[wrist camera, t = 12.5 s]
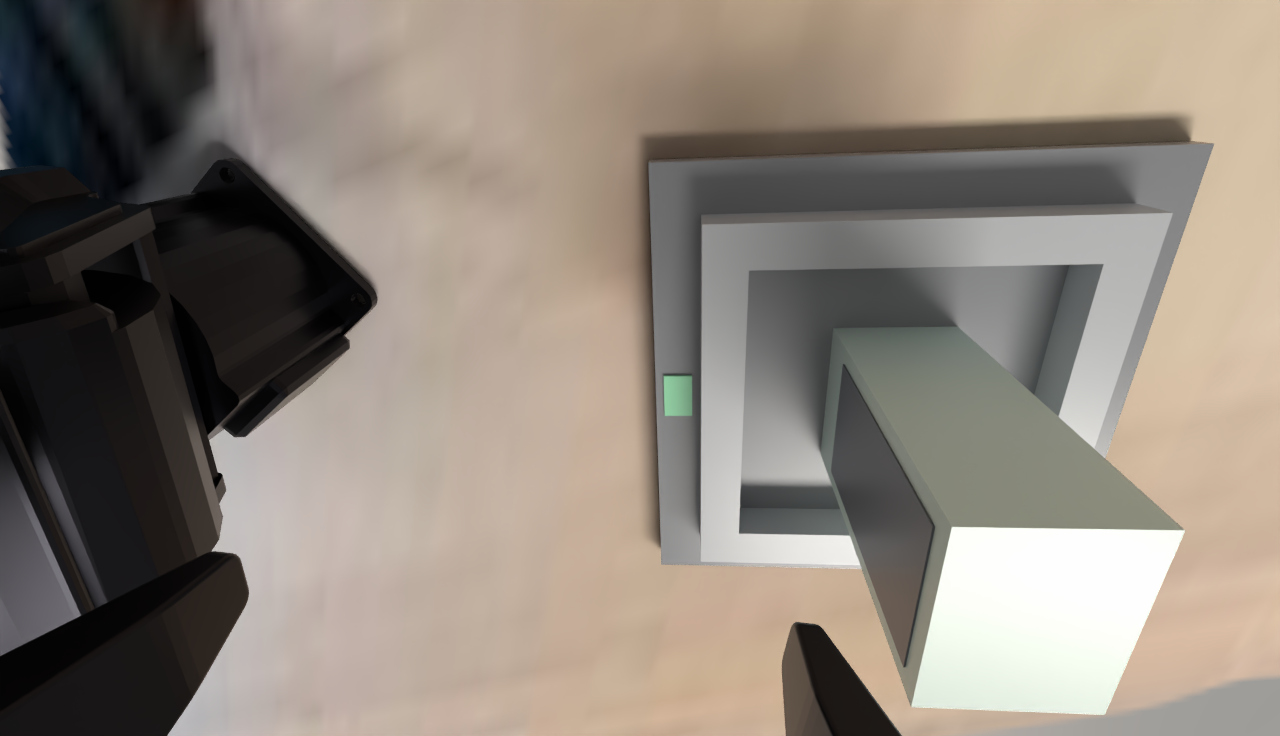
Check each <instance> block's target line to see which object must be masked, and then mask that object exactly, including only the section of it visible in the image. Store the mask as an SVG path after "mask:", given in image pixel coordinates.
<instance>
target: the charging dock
mask: <svg viewBox="0 0 1280 736" xmlns="http://www.w3.org/2000/svg"><path fill="white" fill-rule="evenodd" d="M1213 145H1214V144H1213V143H1204V142H1195V141H1186V142H1156V143H1127V144H1098V145H1069V146H1039V147H1010V148H981V149H951V150H922V151H893V152H863V153H834V154H805V155H775V156H746V157H717V158H688V159H658V160H650V161H649V163H648V164H649V194H650V225H651V256H652V287H653V318H654V349H655V379H656V410H657V441H658V472H659V503H660V534H661V564H665V565H709V566H753V567H797V568H841V569H862V568H861V566H860V563H859V560H858V557H857V554H856V552H855V549H854V546H853V543H852V540H851V538H850V535H849V532H848V529H847V526H846V524H845V521H844V518H843V515H842V512H841V510H840V507H839V504H838V501H837V498H836V496H835V493H834V490H833V487H832V485H831V482H830V479H829V476H828V473H827V471H826V468H825V465H824V462H823V459H822V457H821V445H822V435H823V425H824V415H825V405H826V395H827V386H828V376H829V366H830V356H831V346H832V336H833V328H878V327H959V328H960V329H961V330H962V331H963V332H964V333H965V334H967V335H968V336H969V337H970V338H971V339H972V340H973V341H974V342H976V343H977V344H978V345H979V346H980V347H981V348H982V349H983V350H984V351H986V352H987V353H988V354H989V355H990V356H991V357H992V358H993V359H995V360H996V361H997V362H998V363H999V364H1000V365H1001V366H1002V367H1003V368H1005V369H1006V370H1007V371H1008V372H1009V373H1010V374H1011V375H1012V376H1013V377H1015V378H1016V379H1017V380H1018V381H1019V382H1020V383H1021V384H1022V385H1024V386H1025V387H1026V388H1027V389H1028V390H1029V391H1030V392H1031V393H1032V394H1034V395H1035V396H1036V397H1037V398H1038V399H1039V400H1040V401H1041V402H1042V403H1044V404H1045V405H1046V406H1047V407H1048V408H1049V409H1050V410H1051V411H1053V412H1054V413H1055V414H1056V415H1057V416H1058V417H1059V418H1060V419H1061V420H1063V421H1064V422H1065V423H1066V424H1067V425H1068V426H1069V427H1070V428H1072V429H1073V430H1074V431H1075V432H1076V433H1077V434H1078V435H1079V436H1080V437H1082V438H1083V439H1084V440H1085V441H1086V442H1087V443H1088V444H1089V445H1090V446H1092V447H1093V448H1094V449H1095V450H1096V451H1097V452H1098V453H1099V454H1101V455H1102V456H1103V457H1104V458H1106V455H1107V452H1108V449H1109V446H1110V443H1111V440H1112V437H1113V434H1114V432H1115V429H1116V426H1117V423H1118V420H1119V417H1120V414H1121V411H1122V408H1123V406H1124V403H1125V400H1126V397H1127V394H1128V391H1129V388H1130V385H1131V382H1132V380H1133V377H1134V374H1135V371H1136V368H1137V365H1138V362H1139V359H1140V356H1141V354H1142V351H1143V348H1144V345H1145V342H1146V339H1147V336H1148V333H1149V330H1150V328H1151V325H1152V322H1153V319H1154V316H1155V313H1156V310H1157V307H1158V304H1159V301H1160V299H1161V296H1162V293H1163V290H1164V287H1165V284H1166V281H1167V278H1168V275H1169V273H1170V270H1171V267H1172V264H1173V261H1174V258H1175V255H1176V252H1177V249H1178V247H1179V244H1180V241H1181V238H1182V235H1183V232H1184V229H1185V226H1186V223H1187V221H1188V218H1189V215H1190V212H1191V209H1192V206H1193V203H1194V200H1195V197H1196V195H1197V192H1198V189H1199V186H1200V183H1201V180H1202V177H1203V174H1204V171H1205V169H1206V166H1207V163H1208V160H1209V157H1210V154H1211V151H1212V148H1213Z"/></svg>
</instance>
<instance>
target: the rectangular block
mask: <svg viewBox="0 0 1280 736" xmlns="http://www.w3.org/2000/svg"><path fill="white" fill-rule="evenodd" d="M821 457H822V459H823V462H824V465H825V468H826V471H827V473H828V476H829V479H830V482H831V485H832V487H833V490H834V493H835V496H836V498H837V501H838V504H839V507H840V510H841V512H842V515H843V518H844V521H845V524H846V526H847V529H848V532H849V535H850V538H851V540H852V543H853V546H854V549H855V552H856V554H857V557H858V560H859V563H860V566H861V568H862V571H863V574H864V577H865V580H866V582H867V585H868V588H869V591H870V594H871V596H872V599H873V602H874V605H875V608H876V610H877V613H878V616H879V619H880V621H881V624H882V627H883V630H884V633H885V635H886V638H887V641H888V644H889V647H890V649H891V652H892V655H893V658H894V661H895V663H896V666H897V669H898V672H899V675H900V677H901V680H902V683H903V686H904V689H905V691H906V694H907V697H908V700H909V703H910V705H911V707H920V708H945V709H970V710H995V711H1021V712H1046V713H1071V714H1096V715H1105V713H1106V711H1107V708H1108V706H1109V704H1110V701H1111V699H1112V697H1113V695H1114V692H1115V690H1116V688H1117V685H1118V683H1119V681H1120V679H1121V676H1122V674H1123V672H1124V669H1125V667H1126V665H1127V663H1128V660H1129V658H1130V656H1131V653H1132V651H1133V649H1134V647H1135V644H1136V642H1137V640H1138V637H1139V635H1140V633H1141V631H1142V628H1143V626H1144V624H1145V621H1146V619H1147V617H1148V615H1149V612H1150V610H1151V608H1152V605H1153V603H1154V601H1155V599H1156V596H1157V594H1158V592H1159V589H1160V587H1161V585H1162V583H1163V580H1164V578H1165V576H1166V573H1167V571H1168V569H1169V567H1170V564H1171V562H1172V560H1173V557H1174V555H1175V553H1176V550H1177V548H1178V546H1179V544H1180V541H1181V539H1182V537H1183V534H1184V532H1185V530H1184V529H1183V528H1182V527H1181V526H1180V525H1179V524H1178V523H1176V522H1175V521H1174V520H1173V519H1172V518H1171V517H1170V516H1169V515H1167V514H1166V513H1165V512H1164V511H1163V510H1162V509H1161V508H1160V507H1159V506H1157V505H1156V504H1155V503H1154V502H1153V501H1152V500H1151V499H1150V498H1149V497H1147V496H1146V495H1145V494H1144V493H1143V492H1142V491H1141V490H1140V489H1138V488H1137V487H1136V486H1135V485H1134V484H1133V483H1132V482H1131V481H1130V480H1128V479H1127V478H1126V477H1125V476H1124V475H1123V474H1122V473H1121V472H1119V471H1118V470H1117V469H1116V468H1115V467H1114V466H1113V465H1112V464H1111V463H1109V462H1108V461H1107V460H1106V459H1105V458H1104V457H1103V456H1102V455H1101V454H1099V453H1098V452H1097V451H1096V450H1095V449H1094V448H1093V447H1092V446H1090V445H1089V444H1088V443H1087V442H1086V441H1085V440H1084V439H1083V438H1082V437H1080V436H1079V435H1078V434H1077V433H1076V432H1075V431H1074V430H1073V429H1072V428H1070V427H1069V426H1068V425H1067V424H1066V423H1065V422H1064V421H1063V420H1061V419H1060V418H1059V417H1058V416H1057V415H1056V414H1055V413H1054V412H1053V411H1051V410H1050V409H1049V408H1048V407H1047V406H1046V405H1045V404H1044V403H1042V402H1041V401H1040V400H1039V399H1038V398H1037V397H1036V396H1035V395H1034V394H1032V393H1031V392H1030V391H1029V390H1028V389H1027V388H1026V387H1025V386H1024V385H1022V384H1021V383H1020V382H1019V381H1018V380H1017V379H1016V378H1015V377H1013V376H1012V375H1011V374H1010V373H1009V372H1008V371H1007V370H1006V369H1005V368H1003V367H1002V366H1001V365H1000V364H999V363H998V362H997V361H996V360H995V359H993V358H992V357H991V356H990V355H989V354H988V353H987V352H986V351H984V350H983V349H982V348H981V347H980V346H979V345H978V344H977V343H976V342H974V341H973V340H972V339H971V338H970V337H969V336H968V335H967V334H965V333H964V332H963V331H962V330H961V329H960V328H959V327H878V328H833V336H832V346H831V356H830V366H829V376H828V386H827V395H826V405H825V415H824V425H823V435H822V445H821Z"/></svg>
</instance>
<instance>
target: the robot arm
mask: <svg viewBox="0 0 1280 736" xmlns="http://www.w3.org/2000/svg"><path fill="white" fill-rule="evenodd" d="M228 169H230V170H232V172H233V173H234V175H235V180H232V179H231V178H230V176H229V175H228ZM357 294H360V295H362V296H363V297H364V299H365V303H362V302H360V301H359V300H358V298H357ZM376 304H377V295H376V293H375V291H374V290H373V289H372V288H371V287H370V286H369V285H368V284H367V283H366V282H365V281H364V280H363V279H362V278H361V277H360V276H359V275H358V274H357V273H356V272H355V271H354V270H353V269H352V268H351V267H350V266H349V265H348V264H347V263H346V262H345V261H344V260H343V259H342V258H340V257H339V256H338V255H337V254H336V253H335V252H334V251H333V250H332V249H331V248H330V247H329V246H328V245H327V244H326V243H325V242H324V241H323V240H322V239H321V238H320V237H319V236H318V235H317V234H316V233H315V232H314V231H313V230H312V229H311V228H310V227H308V226H307V225H306V224H305V223H304V222H303V221H302V220H301V219H300V218H299V217H298V216H297V215H296V214H295V213H294V212H293V211H292V210H291V209H290V208H289V207H288V206H287V205H286V204H285V203H284V202H283V201H282V200H281V199H280V198H279V197H277V196H276V195H275V194H274V193H273V192H272V191H271V190H270V189H269V188H268V187H267V186H266V185H265V184H264V183H263V182H262V181H261V180H260V179H259V178H258V177H257V176H256V175H255V174H254V173H253V172H252V171H251V170H250V169H249V168H248V167H247V166H245V165H244V164H243V163H242V162H240V161H239V160H237V159H234V158H229V159H223V160H218V161H217V162H215V163H214V164H213V165H212V167H211V168H210V169H209V171H208V172H207V173H206V174H205V176H204V177H203V178H202V179H201V181H200V182H199V183H198V185H197V186H196V187H195V188H194V190H193V191H192V192H191V194H186V195H182V196H177V197H172V198H168V199H163V200H159V201H154V202H149V203H145V204H140V205H137V204H127V203H119V202H115V201H109V200H104V199H99V197H98V194H97V192H91V191H90V190H89V189H88V188H87V187H86V186H85V185H83V184H82V183H81V182H80V181H79V180H78V179H77V178H75V177H74V176H73V175H72V174H71V173H70V172H69V171H67V170H66V169H65V168H62V167H52V166H42V165H38V166H29V167H21V168H13V169H5V170H0V736H167V735H168V733H169V732H170V731H171V729H172V728H173V726H174V725H175V723H176V722H177V720H178V719H179V718H180V716H181V715H182V713H183V712H184V710H185V709H186V707H187V706H188V704H189V703H190V701H191V700H192V698H193V696H194V695H195V693H196V691H197V690H198V688H199V687H200V685H201V683H202V682H203V680H204V678H205V676H206V675H207V673H208V671H209V669H210V667H211V666H212V664H213V662H214V660H215V659H216V657H217V655H218V653H219V652H220V650H221V648H222V646H223V645H224V643H225V641H226V639H227V638H228V636H229V634H230V632H231V631H232V629H233V627H234V625H235V624H236V622H237V620H238V618H239V617H240V615H241V613H242V611H243V610H244V608H245V606H246V603H247V601H248V596H249V589H248V585H247V581H246V577H245V574H244V570H243V566H242V563H241V560H240V558H239V557H238V556H237V555H236V554H233V553H224V552H216V551H214V552H211V551H212V549H213V548H214V546H215V545H216V543H217V542H218V540H219V537H220V530H221V524H222V518H223V516H222V512H221V509H220V505H219V503H220V501H221V499H222V497H223V495H224V493H225V492H226V487H225V483H224V479H223V475H222V474H221V473H218V472H217V469H216V465H215V461H214V457H213V454H212V450H211V446H210V443H209V440H210V439H211V438H213V437H214V436H215V435H217V434H218V433H219V432H221V431H222V430H223V429H225V430H226V431H227V432H229V433H230V434H231V435H232V436H234V437H246V436H247V435H248V434H250V433H251V432H252V431H253V430H255V429H256V428H257V427H258V426H260V425H261V424H262V423H264V422H265V421H266V420H267V419H269V418H270V417H271V416H272V415H274V414H275V413H276V412H277V411H279V410H280V409H281V408H282V407H284V406H285V405H286V404H287V403H289V402H290V401H291V400H293V399H294V398H295V397H296V396H298V395H299V394H300V393H301V392H303V391H304V390H305V389H306V388H308V387H309V386H310V385H311V384H313V383H314V382H315V381H316V380H317V379H318V378H319V377H320V376H321V375H322V374H323V373H324V372H325V371H326V370H327V369H328V368H329V367H331V366H332V365H333V364H334V363H335V362H336V361H337V360H338V359H339V358H340V357H341V356H342V355H343V354H344V353H345V352H346V351H347V350H348V349H349V348H350V344H349V340H348V339H347V338H346V337H345V335H346V334H347V333H348V332H349V331H350V330H351V329H352V328H353V327H354V326H355V325H356V324H358V323H359V322H360V321H361V320H362V319H363V318H364V317H365V316H366V315H367V314H368V313H369V312H370V311H371V310H372V309H373V308H374V307H375V305H376ZM782 682H783V697H784V713H785V728H786V736H902V735H901V734H900V732H899V731H898V730H897V728H896V727H895V726H894V724H893V723H892V722H891V720H890V719H889V718H888V716H887V715H886V714H885V712H884V711H883V710H882V708H881V707H880V705H879V704H878V703H877V701H876V700H875V699H874V697H873V696H872V695H871V693H870V692H869V691H868V689H867V688H866V687H865V685H864V684H863V683H862V681H861V680H860V678H859V677H858V676H857V674H856V673H855V672H854V670H853V669H852V668H851V666H850V665H849V664H848V662H847V661H846V660H845V658H844V657H843V656H842V654H841V653H840V651H839V650H838V649H837V647H836V646H835V645H834V643H833V642H832V641H831V639H830V638H829V637H828V635H827V634H826V633H825V631H824V630H823V629H822V628H821V627H820V626H819V625H816V624H809V623H801V622H795V623H794V624H793V625H792V627H791V629H790V633H789V636H788V640H787V644H786V648H785V651H784V655H783V660H782Z"/></svg>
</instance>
